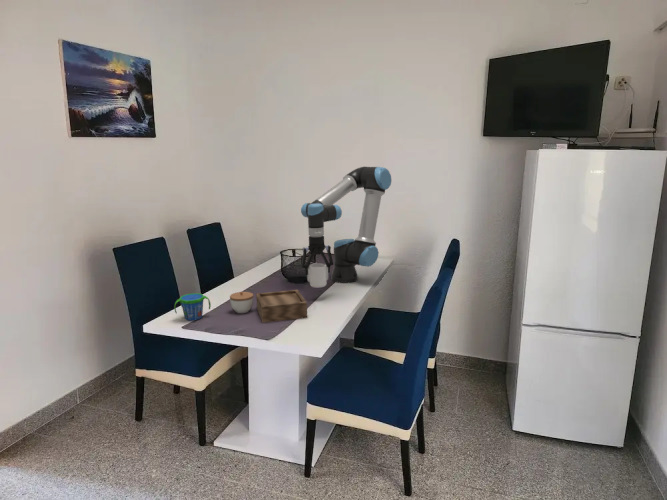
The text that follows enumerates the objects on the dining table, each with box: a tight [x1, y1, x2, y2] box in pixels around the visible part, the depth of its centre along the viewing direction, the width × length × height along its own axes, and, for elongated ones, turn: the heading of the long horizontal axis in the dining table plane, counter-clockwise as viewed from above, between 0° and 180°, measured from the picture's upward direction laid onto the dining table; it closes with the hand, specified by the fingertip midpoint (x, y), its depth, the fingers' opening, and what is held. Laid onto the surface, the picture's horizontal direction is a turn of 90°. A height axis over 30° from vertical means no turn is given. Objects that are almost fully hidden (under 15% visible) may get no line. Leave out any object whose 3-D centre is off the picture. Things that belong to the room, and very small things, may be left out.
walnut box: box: [255, 289, 308, 323], centre depth 222 cm, size 20×20×7 cm
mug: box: [308, 262, 328, 289], centre depth 240 cm, size 12×8×10 cm
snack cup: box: [173, 292, 212, 322], centre depth 216 cm, size 16×10×10 cm
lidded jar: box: [229, 291, 254, 314], centre depth 225 cm, size 11×11×9 cm
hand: (317, 280), depth 240 cm, fingers closed on mug, 9 cm apart
